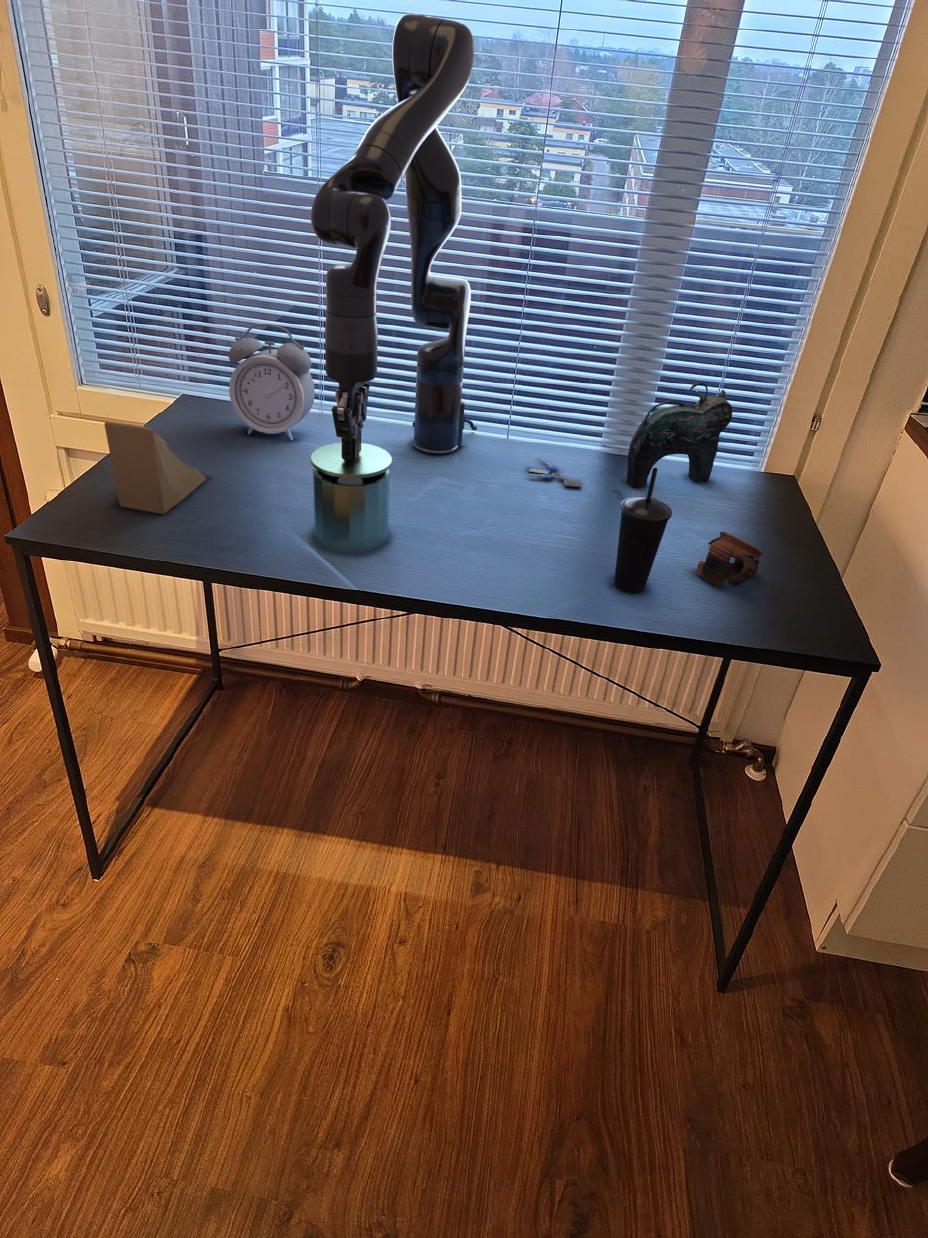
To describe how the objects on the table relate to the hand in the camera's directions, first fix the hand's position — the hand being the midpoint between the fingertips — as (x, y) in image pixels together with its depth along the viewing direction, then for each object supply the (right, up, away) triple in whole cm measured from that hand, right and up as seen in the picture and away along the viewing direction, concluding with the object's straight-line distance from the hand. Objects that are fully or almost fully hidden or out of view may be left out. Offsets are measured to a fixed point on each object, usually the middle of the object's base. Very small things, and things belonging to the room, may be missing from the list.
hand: (351, 455), depth 128 cm
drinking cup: (+44, -20, +2) cm, 48 cm away
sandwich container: (-35, -3, +17) cm, 39 cm away
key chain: (+34, +2, +34) cm, 48 cm away
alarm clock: (-22, +13, +42) cm, 49 cm away
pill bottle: (-1, -12, +8) cm, 14 cm away
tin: (-1, -12, +8) cm, 14 cm away
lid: (0, -1, +1) cm, 1 cm away
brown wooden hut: (+61, -19, +6) cm, 64 cm away
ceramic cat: (+59, +2, +37) cm, 69 cm away
